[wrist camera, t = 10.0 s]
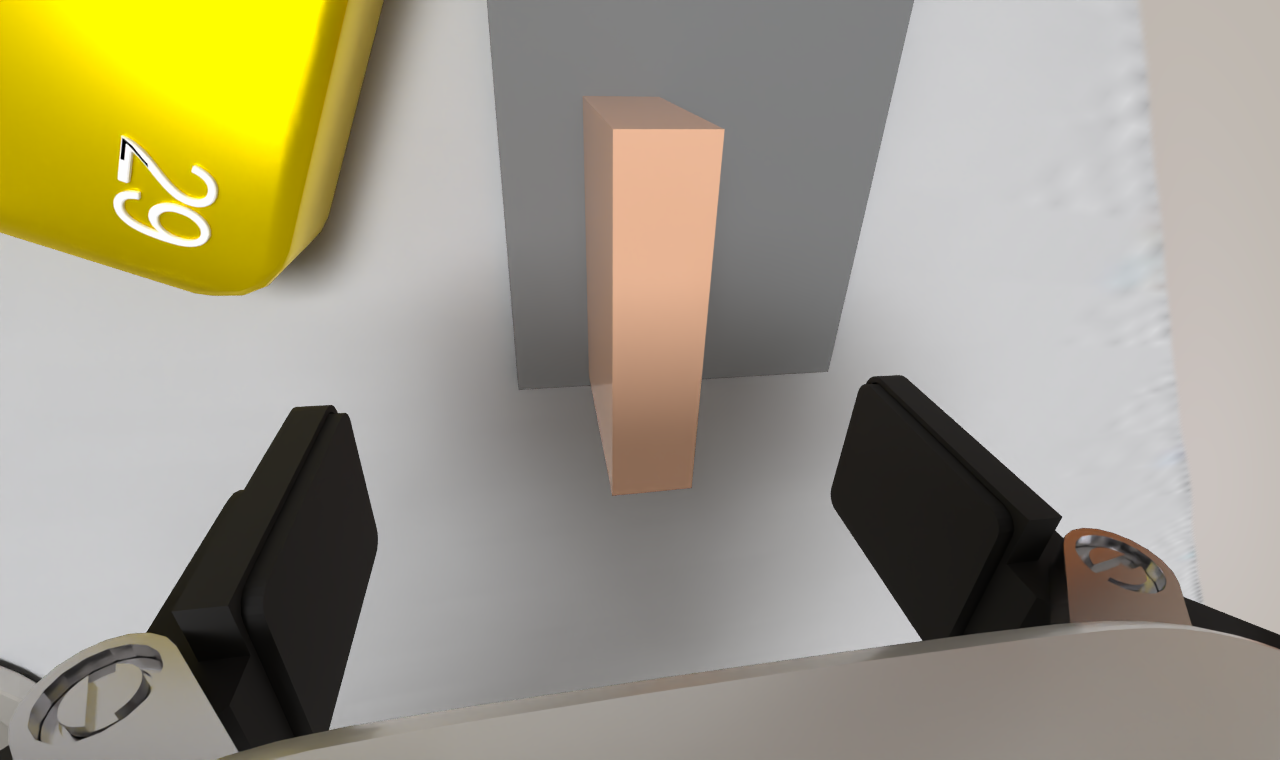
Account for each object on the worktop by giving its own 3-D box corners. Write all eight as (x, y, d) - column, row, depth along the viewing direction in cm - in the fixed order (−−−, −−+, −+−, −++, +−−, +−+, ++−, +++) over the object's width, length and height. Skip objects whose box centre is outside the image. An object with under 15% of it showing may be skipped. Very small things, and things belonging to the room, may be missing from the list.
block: (648, 372, 23) (691, 488, 18) (588, 375, 23) (612, 495, 17) (659, 96, 18) (724, 129, 12) (582, 96, 18) (612, 129, 12)
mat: (822, 364, 26) (827, 371, 25) (518, 382, 23) (518, 389, 23) (936, -150, 17) (949, -155, 16) (472, -198, 15) (470, -207, 14)
